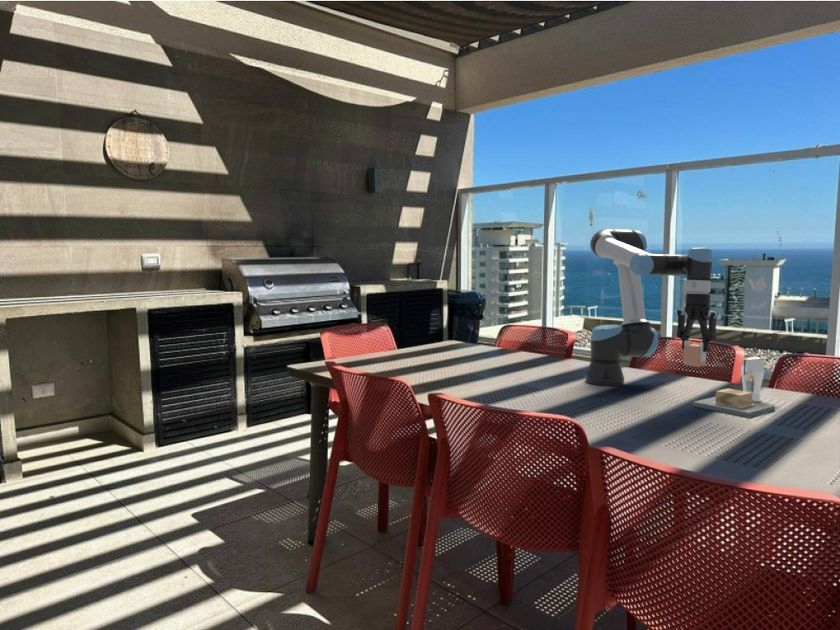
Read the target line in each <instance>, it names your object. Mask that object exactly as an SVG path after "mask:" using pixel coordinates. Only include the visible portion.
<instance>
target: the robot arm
mask: <svg viewBox="0 0 840 630" xmlns="http://www.w3.org/2000/svg"><path fill="white" fill-rule="evenodd" d="M589 243H590V244H589V246H590V249H591V252H592V253H593V254H594V255H595V256H598V257H599V258H603V259H607V258H608V259H610V260H612V261H613V264H614V265H615V266H617V272H618V283H619V284H618V285H619V292H620V298H621V299H620V301H621V310H622V319H623V321H622V322H621V324H603V325H599V326H598V325H597V326H595V327H593V328H592V331H591V334H590V335H591V337H590V340H591V341H590V361H589V362H590V363H589V366H588V368H587V371H586V374H585V378H584V380H585V383H588V384H590V385H591V384H592V385H596V386H604V387H605V386H607V387H615V386H616V387H618V386H623V385H625V377H624V374H623V373H624V372H623V370H622V365H621V363H622V362H621V360H622V359H621V358H627V357H628V358H629V357H630V358H631V357H633V358H634V357H638V358H642V357H649V356H651V355H653V354H654V353H655V352H656V350H657V348H658V346H659V333H658V332H657V330H656V329H655V328H654V327H651V326H652V325H651V322H650V321H648V319H647V318H646V312H645V303H644V302H645V300H644V294H643V287H642V276H671V277H672V276H674V277H676V276H677V277H679V276H680V277H681V276H683V277H684V276H685V277H686V289H685V291H686V292H687V293H686V294H685V307H684V308H683V309H677V310H676V314H677V331H676V338H678V339H680V340H681V341H682V342H681V348H682V350H684V345H689V344H692V341H691V340H690V335H691V333H692V329H693V327H694V324H695V322H696V321H697V323H698V324H699V327H700V328H699V329H700V332H701V338H702V340H701V342H700V343H699V345H700V361H701V362H703V361H705V362H706V361H707V353H708V352H709V351H710V343H711V342H715V341H716V337H717V336H716V334H717V332H716V331H717V319H718V315H719V313H718V312H717V311H714V310H713V311H712V310H711V308H710V302H711V294H710V292H711V288H712V286H711V285H712V270H713V269H712V268H713V260H714V259H713V249H712V248H709V247H691V248H689V249H688V251H687V254H674V253H673V254H669V253H667V254H664V253H650V252H647V248H648V241H647V239H646V236H645V234H644V233H643V232H641V231H640V230H638V229H637V230H636V229H630V228H629V229H620V228H619V229H618V228H617V229H614V228H605V229H602V230H598V231H596V232H595V233H594V234H593V236H592V237H591V239H590V242H589ZM686 315H687V317H686ZM707 316H708V318H709V319H708V318H707ZM707 319H708V320H707ZM707 321H708V324H707ZM685 323H686V324H685Z"/></svg>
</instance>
